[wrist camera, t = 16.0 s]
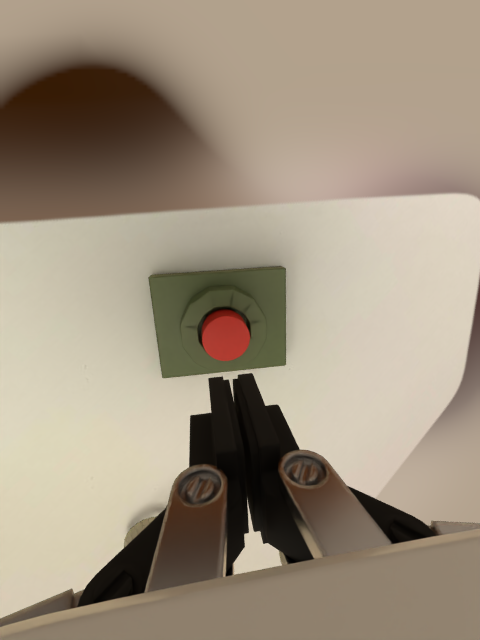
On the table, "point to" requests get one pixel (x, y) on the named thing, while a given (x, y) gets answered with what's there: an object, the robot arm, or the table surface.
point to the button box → (212, 295)
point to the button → (225, 335)
